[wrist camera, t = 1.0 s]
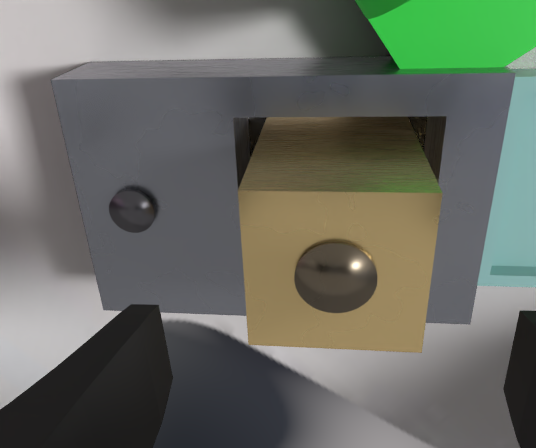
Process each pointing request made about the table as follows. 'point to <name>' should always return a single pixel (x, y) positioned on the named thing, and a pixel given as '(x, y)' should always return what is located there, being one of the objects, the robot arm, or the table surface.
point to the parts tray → (514, 195)
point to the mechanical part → (453, 31)
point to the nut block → (338, 234)
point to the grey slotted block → (237, 159)
